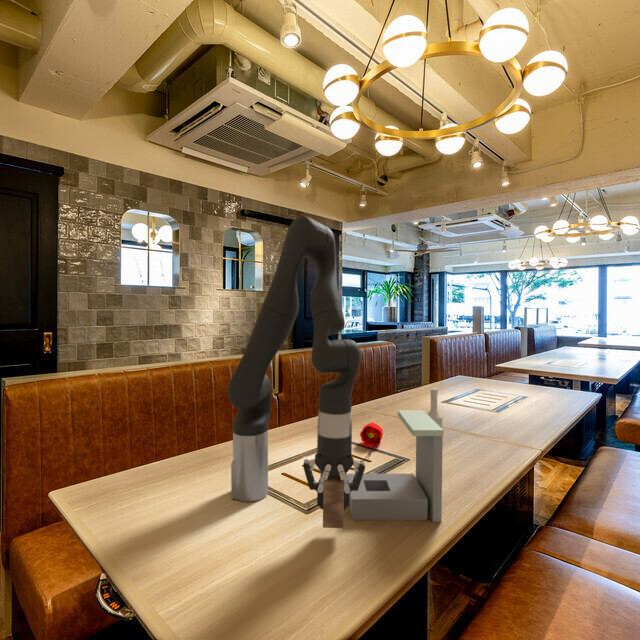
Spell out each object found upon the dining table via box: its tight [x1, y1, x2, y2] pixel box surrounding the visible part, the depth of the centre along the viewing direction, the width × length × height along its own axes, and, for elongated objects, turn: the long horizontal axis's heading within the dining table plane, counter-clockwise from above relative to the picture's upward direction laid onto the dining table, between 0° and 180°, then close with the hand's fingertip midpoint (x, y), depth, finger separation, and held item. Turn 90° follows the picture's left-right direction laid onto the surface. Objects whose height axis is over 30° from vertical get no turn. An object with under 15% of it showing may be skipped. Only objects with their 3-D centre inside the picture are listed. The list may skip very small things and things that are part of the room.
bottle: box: [426, 387, 443, 429], centre depth 122 cm, size 5×5×25 cm
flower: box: [359, 422, 384, 448], centre depth 144 cm, size 8×8×8 cm
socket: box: [346, 473, 428, 521], centre depth 100 cm, size 18×14×5 cm
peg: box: [322, 478, 345, 529], centre depth 86 cm, size 4×4×10 cm
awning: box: [397, 409, 444, 523], centre depth 100 cm, size 7×17×22 cm, turn 1°
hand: (333, 507), depth 86 cm, fingers closed on peg, 4 cm apart
